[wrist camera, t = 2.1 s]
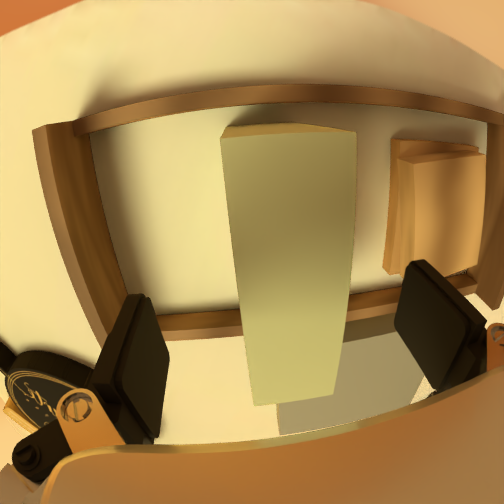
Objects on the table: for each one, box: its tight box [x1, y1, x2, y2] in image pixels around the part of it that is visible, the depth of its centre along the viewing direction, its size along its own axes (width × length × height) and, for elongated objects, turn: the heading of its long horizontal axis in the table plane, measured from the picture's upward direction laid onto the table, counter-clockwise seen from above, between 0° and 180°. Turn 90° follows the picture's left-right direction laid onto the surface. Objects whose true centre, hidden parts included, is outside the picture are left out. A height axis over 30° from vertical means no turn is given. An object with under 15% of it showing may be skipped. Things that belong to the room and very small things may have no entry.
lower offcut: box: [382, 139, 479, 275], centre depth 19 cm, size 8×10×2 cm
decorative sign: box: [0, 342, 94, 434], centre depth 28 cm, size 29×3×25 cm
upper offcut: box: [397, 150, 486, 279], centre depth 18 cm, size 7×9×2 cm
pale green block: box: [220, 122, 357, 406], centre depth 15 cm, size 4×12×10 cm, turn 5°
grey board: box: [277, 312, 424, 435], centre depth 26 cm, size 16×14×2 cm
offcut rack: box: [32, 84, 504, 349], centre depth 17 cm, size 32×16×5 cm, turn 95°
